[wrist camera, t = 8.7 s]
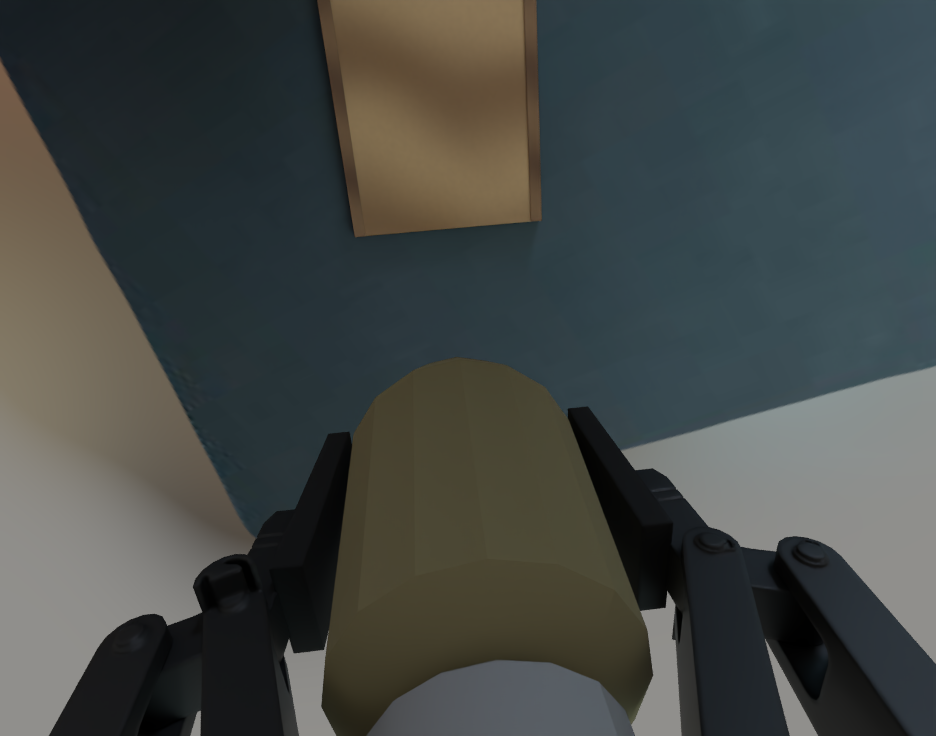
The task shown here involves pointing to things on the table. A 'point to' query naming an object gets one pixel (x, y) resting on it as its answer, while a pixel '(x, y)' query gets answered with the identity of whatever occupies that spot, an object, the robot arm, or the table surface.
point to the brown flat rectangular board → (435, 111)
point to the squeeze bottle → (478, 570)
